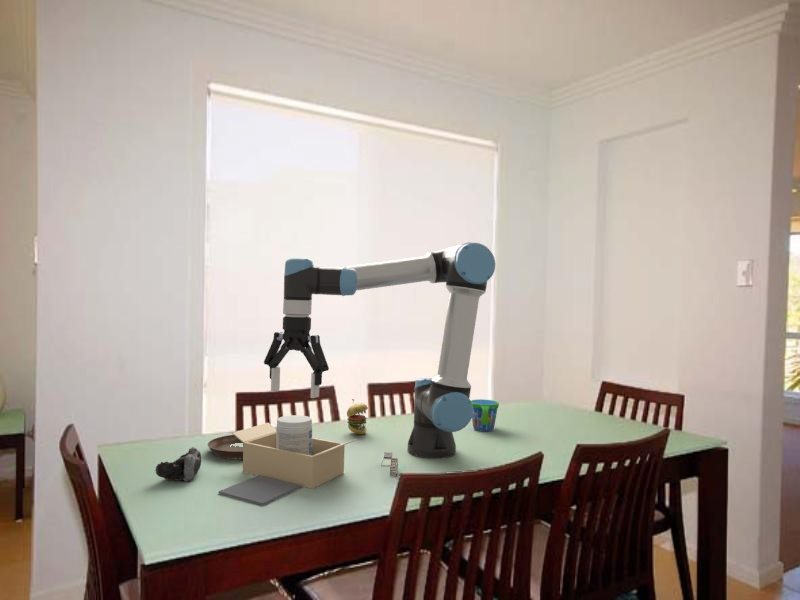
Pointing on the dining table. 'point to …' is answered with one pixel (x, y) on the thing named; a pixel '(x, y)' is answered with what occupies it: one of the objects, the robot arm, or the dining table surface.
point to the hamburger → (357, 418)
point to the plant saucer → (226, 447)
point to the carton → (290, 458)
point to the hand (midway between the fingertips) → (294, 394)
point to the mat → (260, 490)
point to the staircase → (389, 456)
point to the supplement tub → (294, 434)
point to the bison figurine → (181, 466)
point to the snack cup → (484, 414)
